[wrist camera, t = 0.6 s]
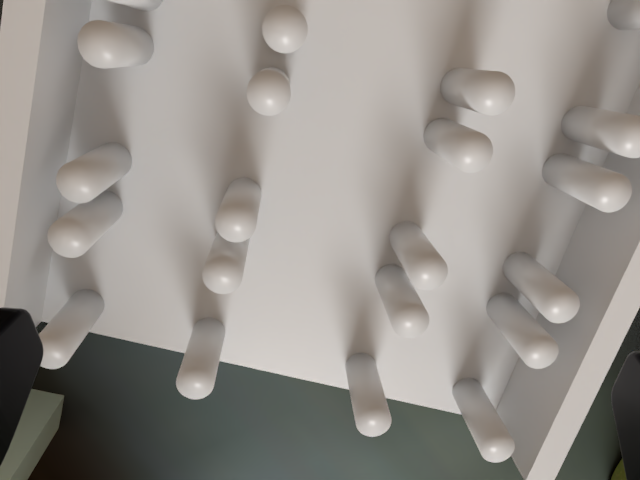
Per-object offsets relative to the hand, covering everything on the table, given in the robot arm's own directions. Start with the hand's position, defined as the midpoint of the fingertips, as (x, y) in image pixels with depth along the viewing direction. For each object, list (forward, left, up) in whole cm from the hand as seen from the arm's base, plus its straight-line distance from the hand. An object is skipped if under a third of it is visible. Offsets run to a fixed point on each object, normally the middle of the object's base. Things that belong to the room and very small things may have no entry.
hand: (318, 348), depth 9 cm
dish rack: (+1, -1, -13) cm, 13 cm away
